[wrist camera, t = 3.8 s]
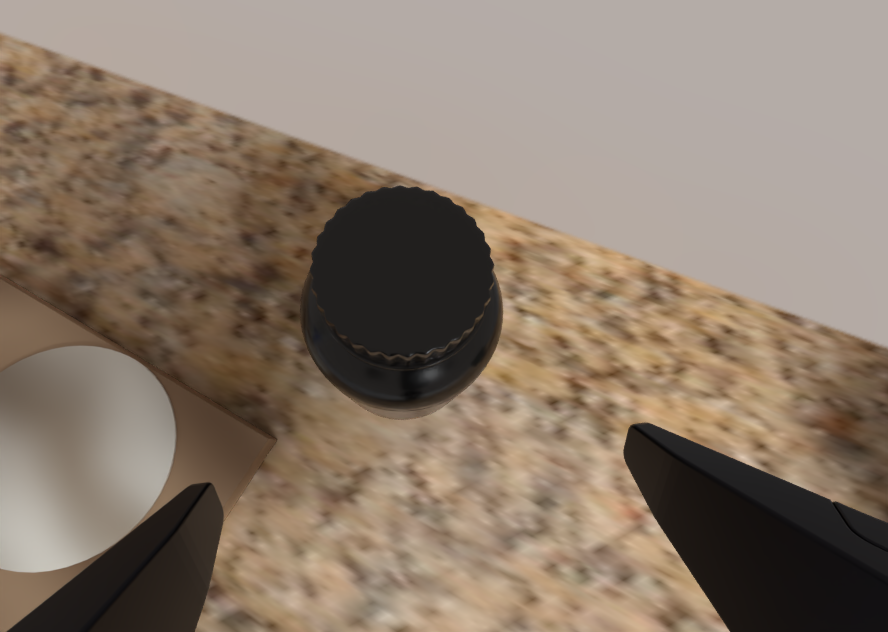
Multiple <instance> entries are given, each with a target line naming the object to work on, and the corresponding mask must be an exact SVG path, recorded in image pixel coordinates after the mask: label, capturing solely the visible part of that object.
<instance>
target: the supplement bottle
mask: <svg viewBox="0 0 888 632" xmlns="http://www.w3.org/2000/svg"><path fill="white" fill-rule="evenodd" d="M490 252H491V248H490V247H489V245H488V244H487V243H486V242H485V236H484V233H483V232H482V231H481V230H480V229H479V228H478V227H477V225H476V222H475V219H473V218H472V217H470V216H469V215H467V214H466V212H465V210H464V209H463V207H461V206H458V205H456V204H454V203H453V202H452V200H451V199H450V198H447V197H443V196H440V195H438V194H437V193H436V192H434V191H424V190H422V189H421V188H419V187H411V188H406V187H404V186H396V187H394V188H387V187H382V188H380V189H378V190H377V191H370V192H365V193H364V194H363V195H362V196H361V197H359V198H354V199H351V200H350V201H349V202H348V204H347V205H346V206H345V207H342V208H340V209H338V210H337V211H336V213H335V215H334V217H333V218H332V219H330V220H329V221H327V222H326V224H325V228H324V231H323V232H322V233H321V234H320V235H319V236H318V237H317V246H316V248H315V249H314V250H313V252H312V254H311V255H312V260H313V263H312V265H311V268H310V271H309V273H308V275H307V278H306V280H305V284H304V287H303V291H302V297H301V305H300V321H301V328H302V333H303V337H304V341H305V343H306V346H307V349H308V351H309V353H310V355H311V357H312V359H313V360H314V362H315V364H316V365H317V367H318V368H319V370H320V371H321V372H322V373H323V375H324V376H325V377H326V378H327V379H328V380H329V381H330V382H331V383H332V384H333V385H334V386H335V387H336V388H337V389H339V390H340V391H341V392H342V393H343V394H345V395H346V396H347V397H349V398H350V399H351V400H353V401H354V402H355V403H357V404H358V405H359V406H361V407H362V408H364V409H365V410H367V411H369V412H371V413H373V414H376V415H378V416H381V417H385V418H389V419H397V420H408V419H415V418H420V417H423V416H426V415H429V414H431V413H433V412H435V411H437V410H439V409H440V408H442V407H443V406H445V405H446V404H448V403H449V402H450V401H451V400H453V399H454V398H455V397H456V396H458V395H459V394H460V393H461V392H462V391H464V390H465V389H466V388H467V387H468V386H470V385H471V384H472V383H473V382H474V381H475V380H476V378H477V377H478V376H479V375H480V374H481V372H482V371H483V370H484V369H485V367H486V366H487V364H488V362H489V361H490V359H491V357H492V355H493V353H494V351H495V349H496V346H497V344H498V341H499V337H500V333H501V329H502V322H503V303H502V296H501V291H500V287H499V283H498V281H497V278H496V275H495V273H494V271H493V269H494V263H493V261H492V259H491V258H490Z"/></svg>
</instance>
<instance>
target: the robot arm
mask: <svg viewBox="0 0 888 632" xmlns="http://www.w3.org/2000/svg"><path fill="white" fill-rule="evenodd" d="M624 459H625V462H626V464H627V466H628V468H629V470H630V472H631V474H632V476H633V478H634V480H635V482H636V483H637V485H638V487H639V489H640V491H641V493H642V495H643V497H644V499H645V501H646V503H647V505H648V506H649V508H650V510H651V512H652V514H653V515H654V517H655V519H656V520H657V522H658V524H659V525H660V527H661V528H662V530H663V531H664V533H665V534H666V536H667V537H668V539H669V540H670V542H671V543H672V545H673V546H674V548H675V549H676V551H677V552H678V554H679V555H680V557H681V558H682V560H683V561H684V563H685V564H686V566H687V567H688V569H689V570H690V572H691V573H692V575H693V577H694V578H695V580H696V581H697V583H698V584H699V586H700V587H701V589H702V590H703V592H704V593H705V595H706V596H707V598H708V599H709V601H710V602H711V604H712V605H713V607H714V608H715V610H716V611H717V613H718V614H719V616H720V617H721V619H722V620H723V622H724V623H725V625H726V626H727V628H728V629H729V631H730V632H888V523H886V522H884V521H882V520H879V519H877V518H874V517H872V516H869V515H867V514H864V513H862V512H860V511H857V510H855V509H852V508H850V507H848V506H845V505H843V504H841V503H838V502H833V503H832V501H831V500H830V499H827V498H825V497H823V496H820V495H818V494H816V493H813V492H811V491H809V490H806V489H804V488H801V487H799V486H797V485H794V484H792V483H790V482H787V481H785V480H783V479H780V478H778V477H775V476H773V475H771V474H768V473H766V472H764V471H761V470H759V469H757V468H754V467H752V466H749V465H747V464H745V463H742V462H740V461H738V460H735V459H733V458H731V457H728V456H726V455H724V454H721V453H719V452H716V451H714V450H712V449H709V448H707V447H705V446H702V445H700V444H698V443H695V442H693V441H690V440H688V439H686V438H683V437H681V436H679V435H676V434H674V433H672V432H669V431H667V430H665V429H662V428H660V427H657V426H655V425H653V424H650V423H638V424H633V425H631V426H630V427H629V429H628V433H627V437H626V442H625V446H624ZM223 520H224V511H223V507H222V504H221V502H220V499H219V497H218V494H217V492H216V489H215V487H214V485H213V484H212V483H210V482H204V483H197V484H191V485H189V486H188V487H186V488H185V489H184V490H183V491H181V492H180V493H179V494H178V495H176V496H175V497H174V498H173V499H171V500H170V501H169V502H168V503H166V504H165V505H164V506H163V507H161V508H160V509H159V510H158V511H156V512H155V513H154V514H153V515H151V516H150V517H149V518H148V519H146V520H145V521H144V522H143V523H141V524H140V525H139V526H138V527H136V528H135V529H134V530H133V531H131V532H130V533H129V534H128V535H126V536H125V537H124V538H123V539H121V540H120V541H119V542H118V543H116V544H115V545H114V546H113V547H111V548H110V549H109V550H108V551H106V552H105V553H104V554H103V555H101V556H100V557H99V558H98V559H96V560H95V561H94V562H93V563H91V564H90V565H89V566H88V567H86V568H85V569H84V570H83V571H81V572H80V573H79V574H78V575H76V576H75V577H74V578H73V579H71V580H70V581H69V582H68V583H66V584H65V585H64V586H63V587H61V588H60V589H59V590H58V591H56V592H55V593H54V594H53V595H51V596H50V597H49V598H48V599H46V600H45V601H44V602H43V603H41V604H40V605H39V606H38V607H36V608H35V609H34V610H33V611H31V612H30V613H29V614H28V615H26V616H25V617H24V618H23V619H21V620H20V621H19V622H18V623H16V624H15V625H14V626H13V627H11V628H10V629H9V630H8V631H6V632H195V629H196V626H197V623H198V620H199V617H200V614H201V611H202V608H203V605H204V602H205V599H206V596H207V593H208V589H209V585H210V581H211V577H212V572H213V567H214V563H215V558H216V553H217V549H218V544H219V540H220V535H221V530H222V526H223Z"/></svg>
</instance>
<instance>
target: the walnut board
mask: <svg viewBox="0 0 888 632" xmlns="http://www.w3.org/2000/svg"><path fill="white" fill-rule="evenodd" d="M276 441H277V439H275V438H274V437H272V436H270V435H269V434H267V433H265V432H264V431H262V430H260V429H259V428H257V427H255V426H254V425H252V424H250V423H249V422H247V421H245V420H243V419H242V418H240V417H238V416H237V415H235V414H233V413H232V412H230V411H228V410H227V409H225V408H223V407H222V406H220V405H218V404H217V403H215V402H213V401H212V400H210V399H208V398H207V397H205V396H203V395H202V394H200V393H198V392H197V391H195V390H193V389H192V388H190V387H188V386H187V385H185V384H183V383H181V382H180V381H178V380H176V379H175V378H173V377H171V376H170V375H168V374H166V373H165V372H163V371H161V370H160V369H158V368H156V367H155V366H153V365H151V364H150V363H148V362H146V361H145V360H143V359H141V358H140V357H138V356H136V355H135V354H133V353H131V352H130V351H128V350H126V349H125V348H123V347H121V346H119V345H118V344H116V343H114V342H113V341H111V340H109V339H108V338H106V337H104V336H103V335H101V334H99V333H98V332H96V331H94V330H93V329H91V328H89V327H88V326H86V325H84V324H83V323H81V322H79V321H78V320H76V319H74V318H73V317H71V316H69V315H68V314H66V313H64V312H63V311H61V310H59V309H57V308H56V307H54V306H52V305H51V304H49V303H47V302H46V301H44V300H42V299H41V298H39V297H37V296H36V295H34V294H32V293H31V292H29V291H27V290H26V289H24V288H22V287H21V286H19V285H17V284H16V283H14V282H12V281H11V280H9V279H7V278H6V277H4V276H2V275H0V632H6V631H8V630H9V629H10V628H11V627H13V626H14V625H15V624H16V623H18V622H19V621H20V620H21V619H23V618H24V617H25V616H26V615H28V614H29V613H30V612H31V611H33V610H34V609H35V608H36V607H38V606H39V605H40V604H41V603H43V602H44V601H45V600H46V599H48V598H49V597H50V596H51V595H53V594H54V593H55V592H56V591H58V590H59V589H60V588H61V587H63V586H64V585H65V584H66V583H68V582H69V581H70V580H71V579H73V578H74V577H75V576H76V575H78V574H79V573H80V572H81V571H83V570H84V569H85V568H86V567H88V566H89V565H90V564H91V563H93V562H94V561H95V560H96V559H98V558H99V557H100V556H101V555H103V554H104V553H105V552H106V551H108V550H109V549H110V548H111V547H113V546H114V545H115V544H116V543H118V542H119V541H120V540H121V539H123V538H124V537H125V536H126V535H128V534H129V533H130V532H131V531H133V530H134V529H135V528H136V527H138V526H139V525H140V524H141V523H143V522H144V521H145V520H146V519H148V518H149V517H150V516H151V515H153V514H154V513H155V512H156V511H158V510H159V509H160V508H161V507H163V506H164V505H165V504H166V503H168V502H169V501H170V500H171V499H173V498H174V497H175V496H176V495H178V494H179V493H180V492H181V491H183V490H184V489H185V488H186V487H188V486H189V485H191V484H197V483H204V482H210V483H212V484H213V485H214V487H215V489H216V492H217V494H218V497H219V499H220V502H221V504H222V507H223V511H224V520H225V519H226V517H227V516H228V514H229V513H230V511H231V510H232V508H233V507H234V505H235V504H236V502H237V500H238V499H239V497H240V496H241V494H242V493H243V491H244V490H245V488H246V487H247V485H248V484H249V482H250V481H251V479H252V477H253V476H254V474H255V473H256V471H257V470H258V468H259V467H260V465H261V464H262V462H263V461H264V459H265V458H266V456H267V454H268V453H269V451H270V450H271V448H272V447H273V445H274V444H275V442H276ZM224 520H223V522H224Z"/></svg>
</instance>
